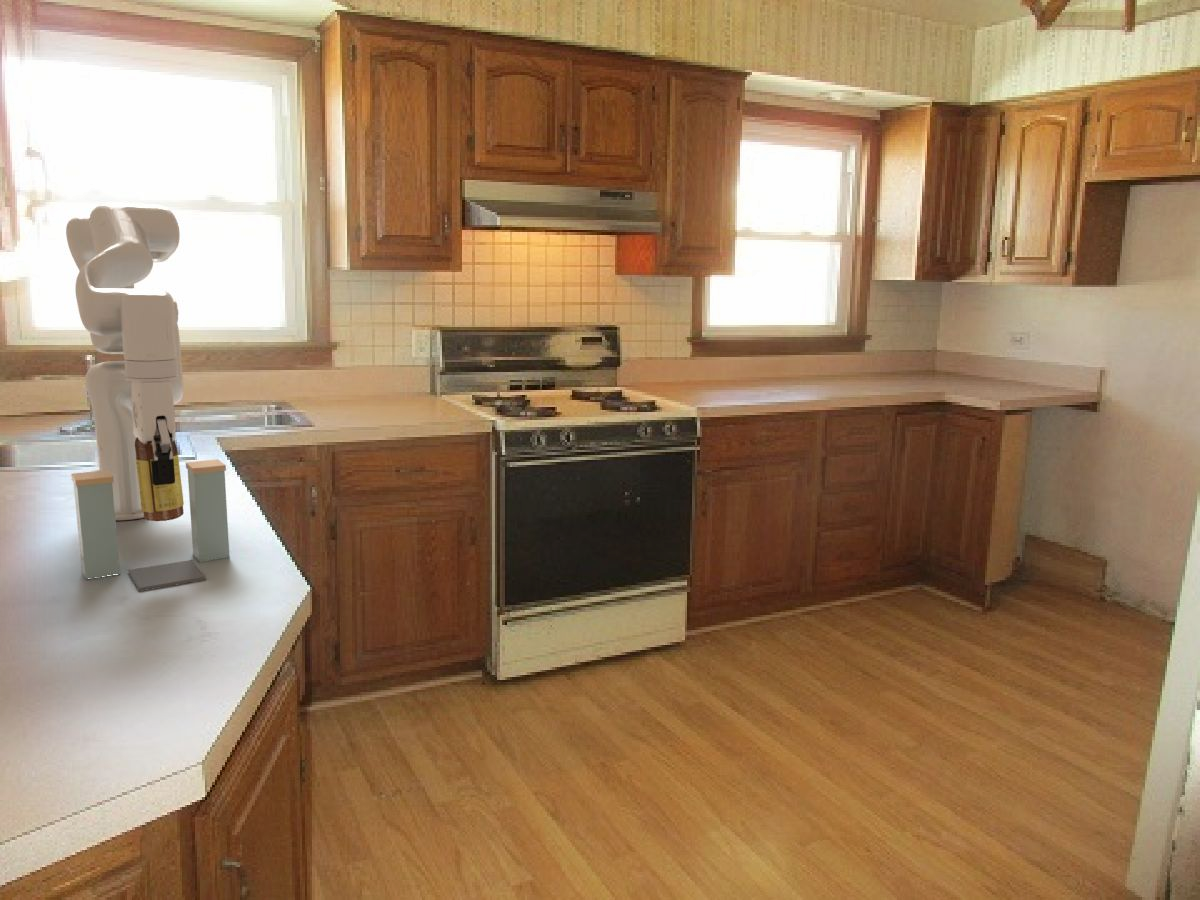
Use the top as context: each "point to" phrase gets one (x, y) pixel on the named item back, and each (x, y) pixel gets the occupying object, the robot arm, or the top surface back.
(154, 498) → the sauce bottle
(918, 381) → the top surface
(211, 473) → the canister
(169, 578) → the plate
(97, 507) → the canister
